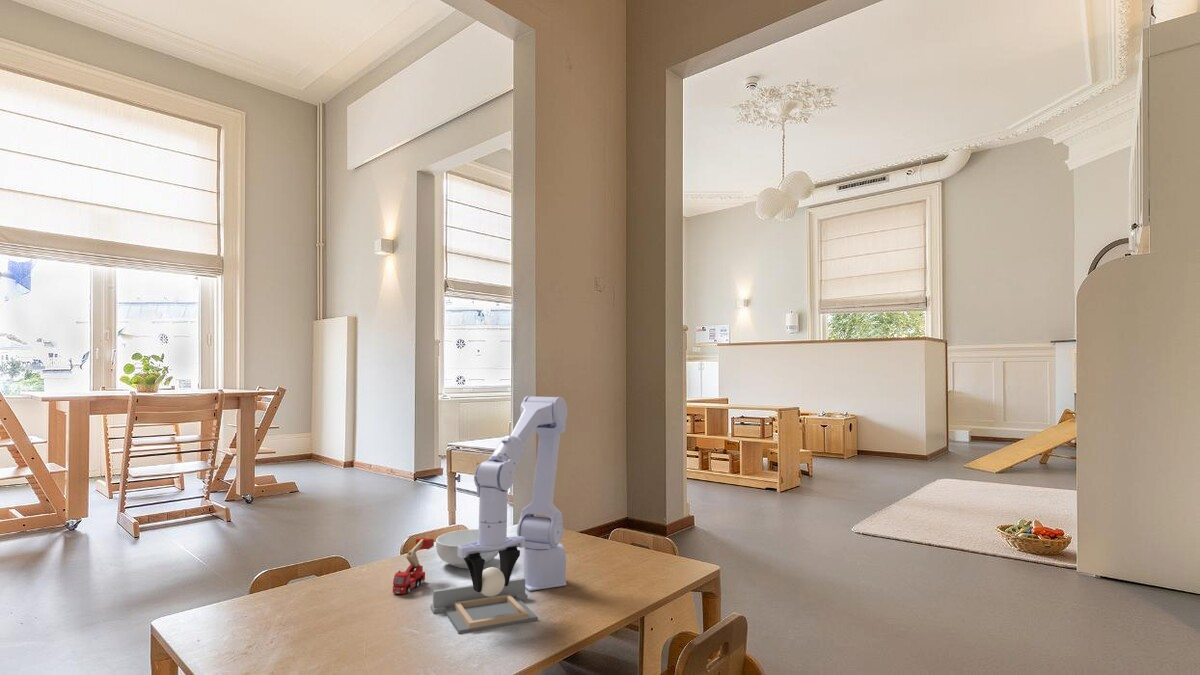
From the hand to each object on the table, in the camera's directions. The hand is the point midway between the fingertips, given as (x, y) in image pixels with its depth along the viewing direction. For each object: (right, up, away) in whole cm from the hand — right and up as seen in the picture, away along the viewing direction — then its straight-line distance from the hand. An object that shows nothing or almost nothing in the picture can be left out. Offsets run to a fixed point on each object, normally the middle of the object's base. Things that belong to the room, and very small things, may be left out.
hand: (491, 587), depth 127 cm
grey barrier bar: (-3, -6, +6) cm, 9 cm away
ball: (0, +1, 0) cm, 1 cm away
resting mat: (0, -6, 0) cm, 6 cm away
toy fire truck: (-21, -7, +17) cm, 28 cm away
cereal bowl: (-12, -8, +34) cm, 37 cm away
